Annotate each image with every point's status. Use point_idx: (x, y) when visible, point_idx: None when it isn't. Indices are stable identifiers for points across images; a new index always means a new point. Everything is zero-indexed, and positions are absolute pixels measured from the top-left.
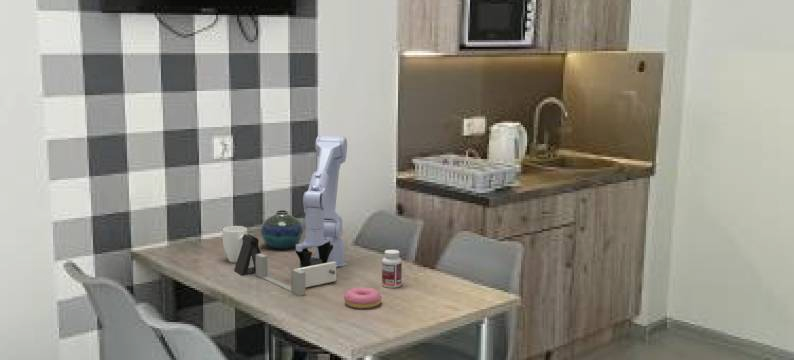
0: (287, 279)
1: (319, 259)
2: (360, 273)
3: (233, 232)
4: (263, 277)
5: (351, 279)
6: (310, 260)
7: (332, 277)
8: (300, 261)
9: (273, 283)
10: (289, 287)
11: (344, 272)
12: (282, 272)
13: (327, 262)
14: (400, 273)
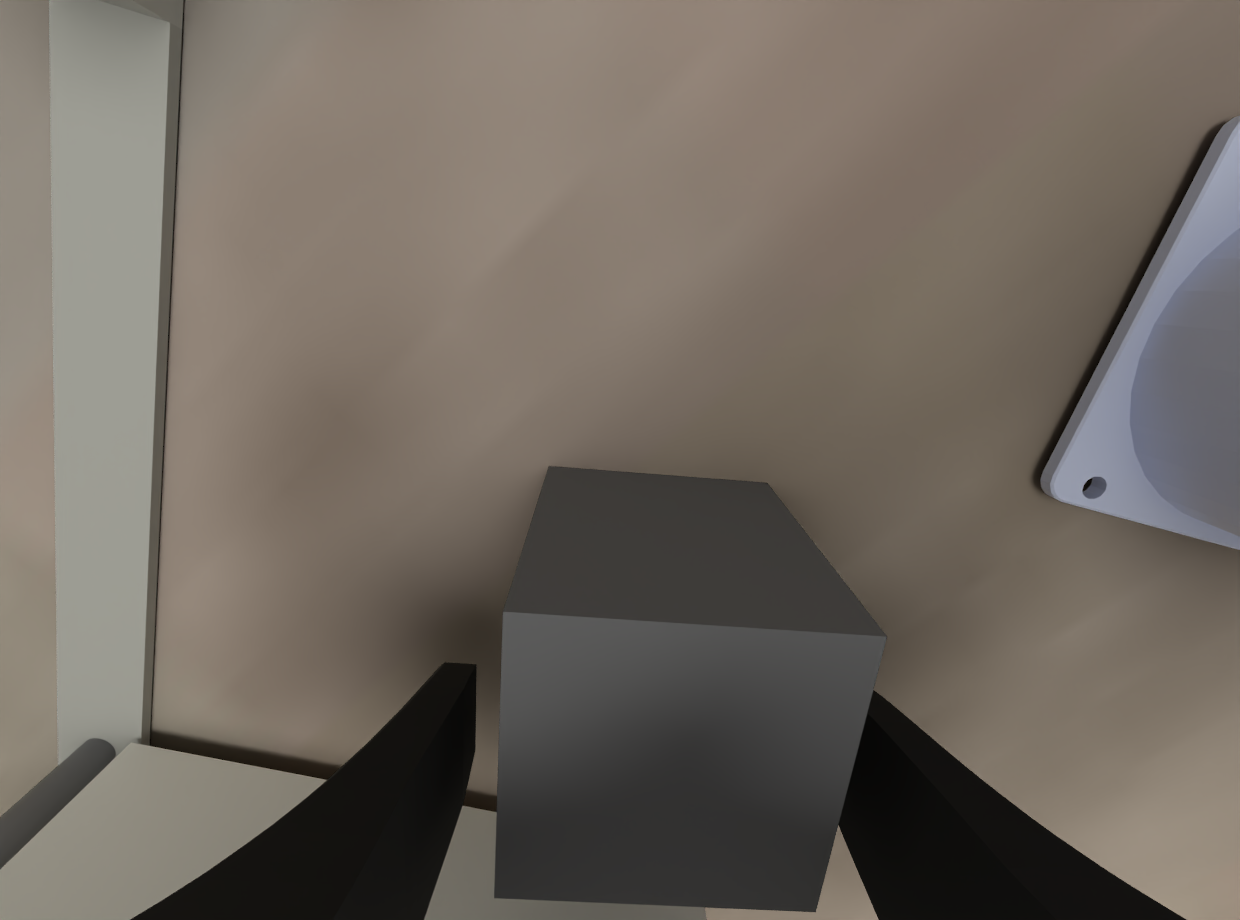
0: (360, 389)
1: (791, 876)
2: (1107, 859)
3: None
4: (68, 15)
5: (860, 909)
6: (612, 806)
7: None
8: (328, 780)
9: (63, 376)
10: (116, 674)
11: (1063, 727)
12: (571, 35)
13: (1221, 511)
14: None
